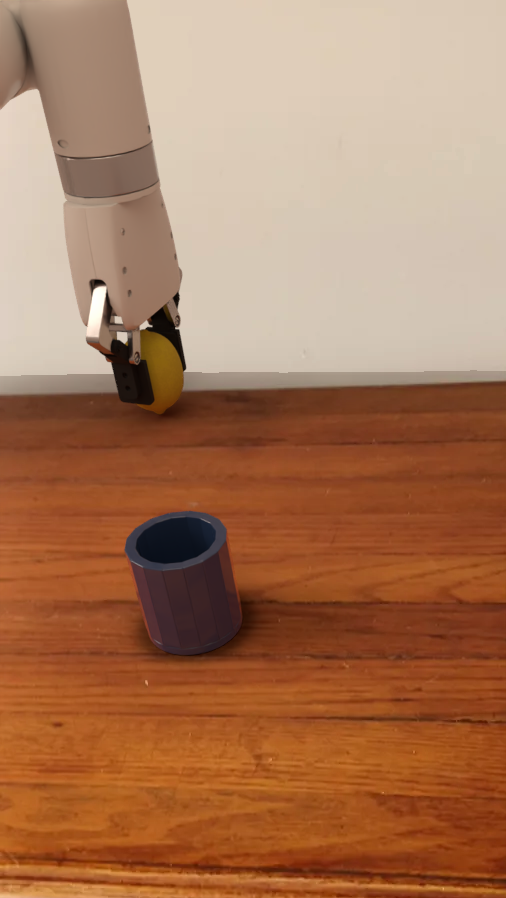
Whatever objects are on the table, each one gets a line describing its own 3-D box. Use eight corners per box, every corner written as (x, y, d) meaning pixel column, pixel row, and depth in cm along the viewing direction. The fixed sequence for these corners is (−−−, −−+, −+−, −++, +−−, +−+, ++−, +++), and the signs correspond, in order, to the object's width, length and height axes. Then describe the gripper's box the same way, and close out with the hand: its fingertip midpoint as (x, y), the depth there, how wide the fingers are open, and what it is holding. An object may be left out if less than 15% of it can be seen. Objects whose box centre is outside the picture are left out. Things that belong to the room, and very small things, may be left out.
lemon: (179, 394, 91) (163, 312, 86) (198, 418, 87) (182, 333, 82) (123, 409, 89) (103, 326, 84) (139, 434, 85) (120, 348, 80)
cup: (131, 646, 63) (106, 561, 59) (174, 588, 68) (153, 505, 63) (219, 662, 62) (200, 576, 57) (257, 601, 66) (242, 517, 62)
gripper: (119, 140, 82) (160, 343, 93) (5, 203, 69) (68, 427, 81) (199, 142, 80) (230, 349, 91) (95, 208, 67) (147, 436, 79)
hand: (154, 384), depth 86 cm, fingers closed on lemon, 5 cm apart
